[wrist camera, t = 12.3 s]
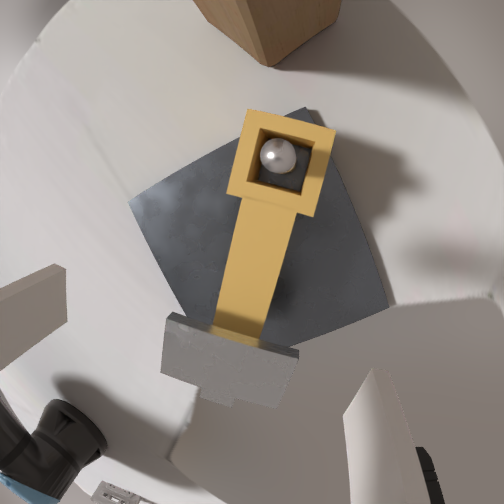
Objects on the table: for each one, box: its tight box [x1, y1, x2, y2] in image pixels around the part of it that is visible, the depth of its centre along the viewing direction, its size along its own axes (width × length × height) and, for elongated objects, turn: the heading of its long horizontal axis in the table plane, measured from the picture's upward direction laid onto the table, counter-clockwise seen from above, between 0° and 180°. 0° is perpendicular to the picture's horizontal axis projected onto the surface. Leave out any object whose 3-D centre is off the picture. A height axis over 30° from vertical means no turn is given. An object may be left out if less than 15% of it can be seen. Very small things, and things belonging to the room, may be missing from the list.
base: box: [128, 107, 389, 347], centre depth 24 cm, size 20×21×11 cm
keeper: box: [160, 312, 299, 409], centre depth 26 cm, size 8×10×10 cm
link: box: [213, 109, 336, 339], centre depth 24 cm, size 18×6×6 cm, turn 166°
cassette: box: [91, 481, 141, 504], centre depth 47 cm, size 12×2×8 cm, turn 88°
